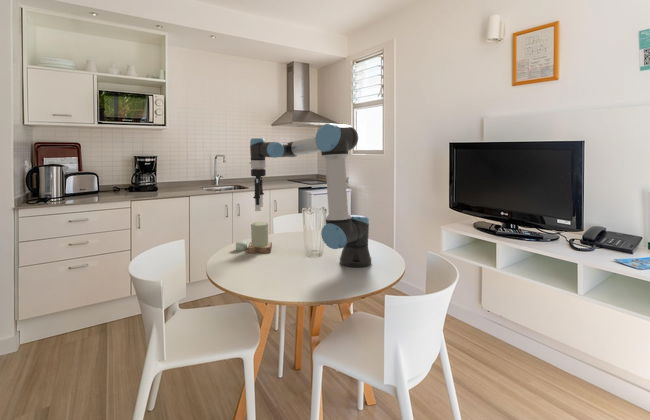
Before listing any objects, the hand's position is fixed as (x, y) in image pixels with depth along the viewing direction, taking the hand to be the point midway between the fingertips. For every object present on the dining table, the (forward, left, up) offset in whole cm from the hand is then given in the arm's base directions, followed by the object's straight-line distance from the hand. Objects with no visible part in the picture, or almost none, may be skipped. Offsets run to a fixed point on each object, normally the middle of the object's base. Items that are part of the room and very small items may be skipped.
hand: (259, 208), depth 193 cm
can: (0, 0, -20) cm, 20 cm away
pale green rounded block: (+7, +8, -22) cm, 25 cm away
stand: (0, 0, -22) cm, 22 cm away
